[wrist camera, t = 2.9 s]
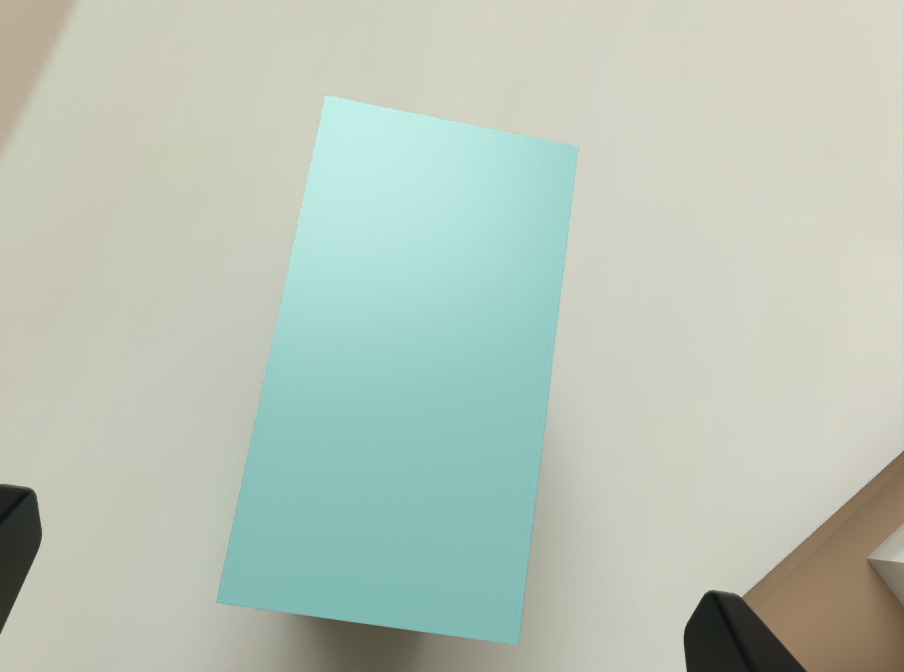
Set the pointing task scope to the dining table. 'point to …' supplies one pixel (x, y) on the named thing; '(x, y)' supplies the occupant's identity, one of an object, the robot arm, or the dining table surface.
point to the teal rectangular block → (407, 379)
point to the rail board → (844, 585)
